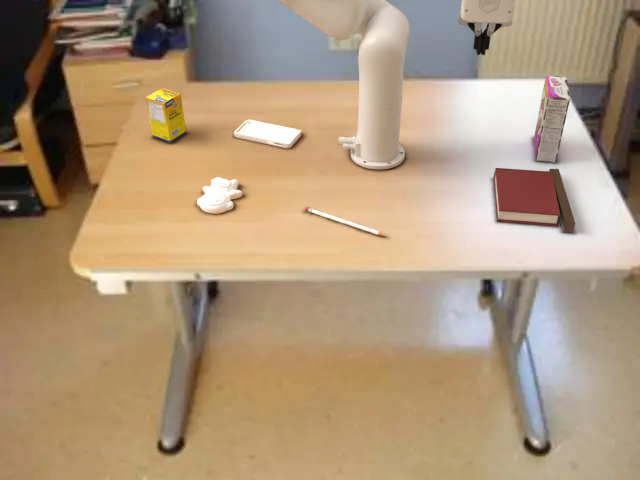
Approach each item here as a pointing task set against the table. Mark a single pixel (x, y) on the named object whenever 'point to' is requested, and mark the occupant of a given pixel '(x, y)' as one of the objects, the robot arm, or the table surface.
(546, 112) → the candy bar box
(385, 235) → the pencil
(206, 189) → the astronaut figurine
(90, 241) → the table surface
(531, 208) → the book
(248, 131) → the phone case
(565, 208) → the rail
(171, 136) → the supplement box
